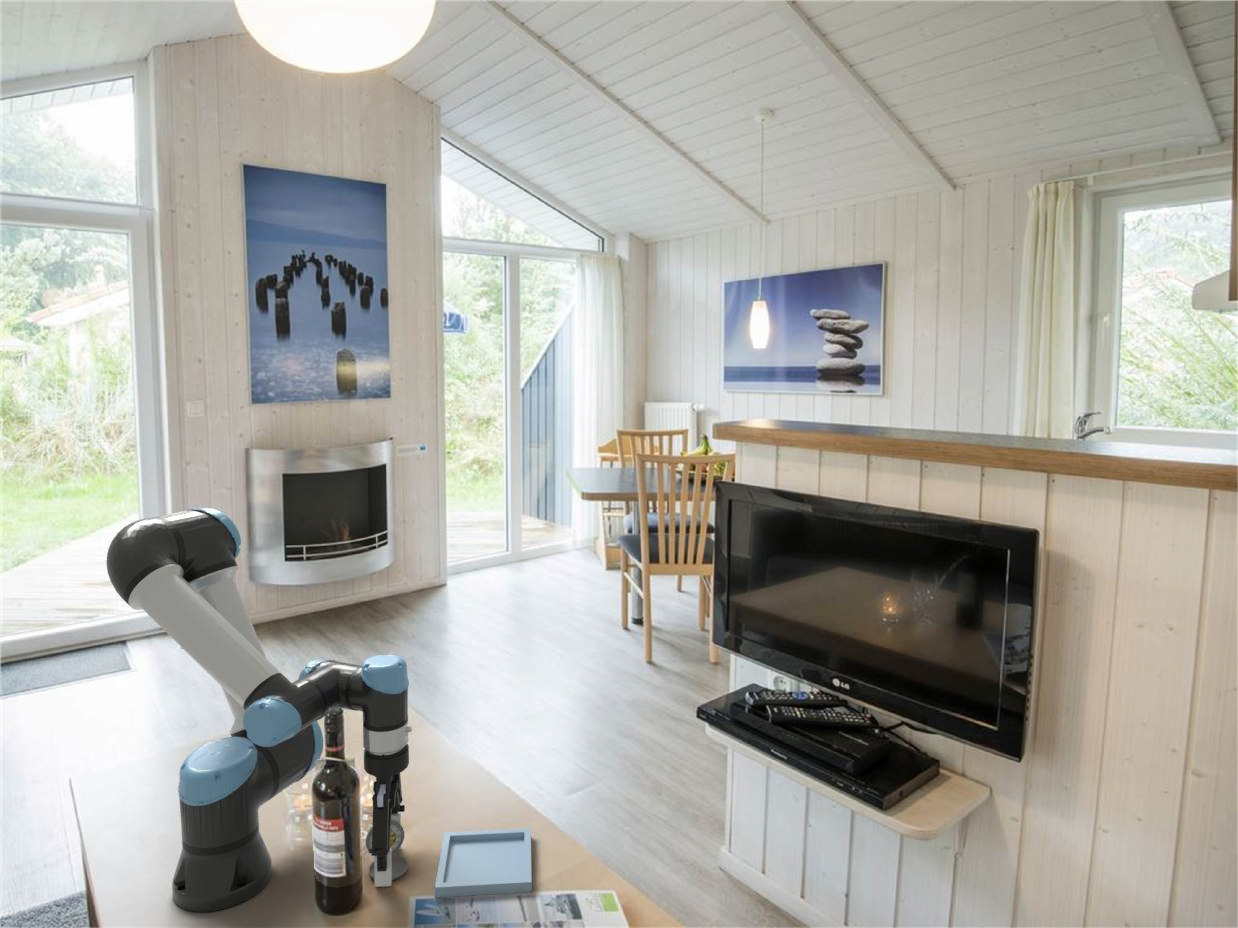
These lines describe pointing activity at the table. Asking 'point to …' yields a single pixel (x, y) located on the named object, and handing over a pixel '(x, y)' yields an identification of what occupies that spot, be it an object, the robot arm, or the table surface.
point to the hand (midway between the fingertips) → (388, 865)
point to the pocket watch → (397, 861)
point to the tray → (484, 863)
